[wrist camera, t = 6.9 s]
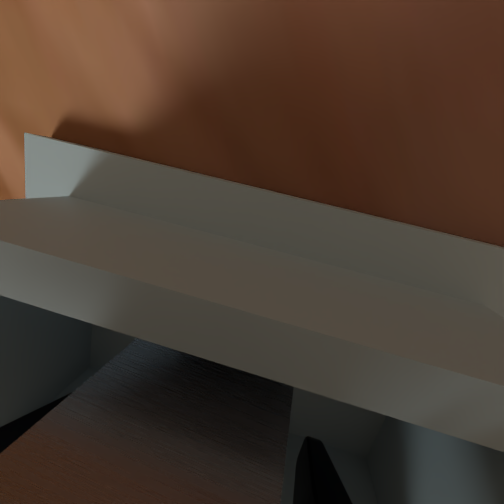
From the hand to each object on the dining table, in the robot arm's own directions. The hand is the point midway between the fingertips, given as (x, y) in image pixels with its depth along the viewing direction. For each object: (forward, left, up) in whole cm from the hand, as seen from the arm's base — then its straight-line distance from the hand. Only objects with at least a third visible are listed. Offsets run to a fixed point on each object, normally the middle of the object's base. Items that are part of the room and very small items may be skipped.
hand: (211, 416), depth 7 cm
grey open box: (0, 0, -4) cm, 4 cm away
